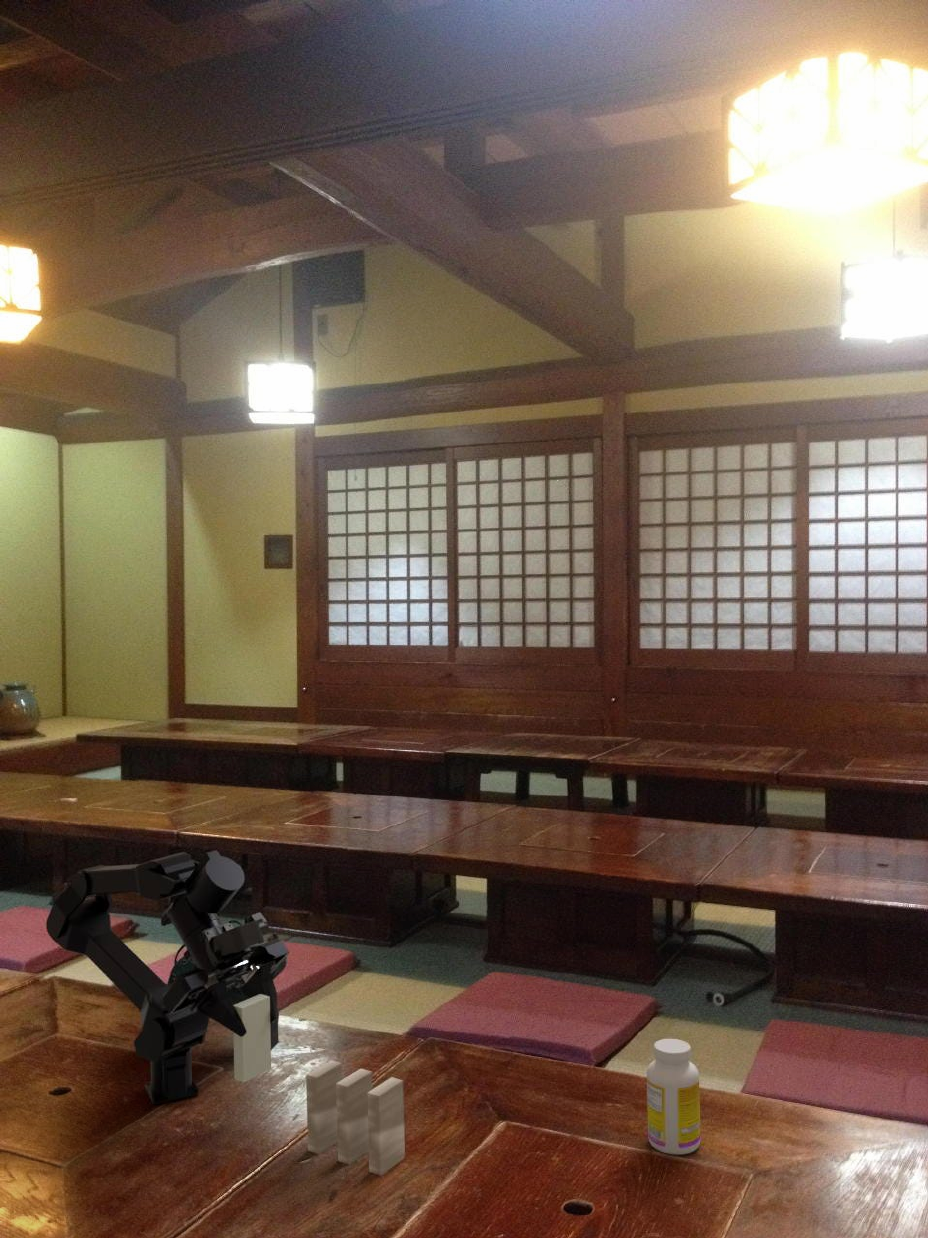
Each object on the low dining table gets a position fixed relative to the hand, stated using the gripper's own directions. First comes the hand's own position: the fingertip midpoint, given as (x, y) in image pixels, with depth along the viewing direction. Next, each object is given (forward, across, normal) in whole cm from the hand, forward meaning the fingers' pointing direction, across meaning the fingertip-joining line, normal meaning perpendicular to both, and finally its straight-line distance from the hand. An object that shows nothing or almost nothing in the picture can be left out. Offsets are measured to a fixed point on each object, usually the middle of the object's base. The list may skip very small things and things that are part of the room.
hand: (259, 1028), depth 150 cm
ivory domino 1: (+17, +2, +2) cm, 17 cm away
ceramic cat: (-8, +16, +28) cm, 33 cm away
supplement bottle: (+43, +27, -24) cm, 56 cm away
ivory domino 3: (+24, +2, -5) cm, 25 cm away
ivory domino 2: (+20, +2, -1) cm, 21 cm away
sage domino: (+4, 0, +6) cm, 7 cm away
